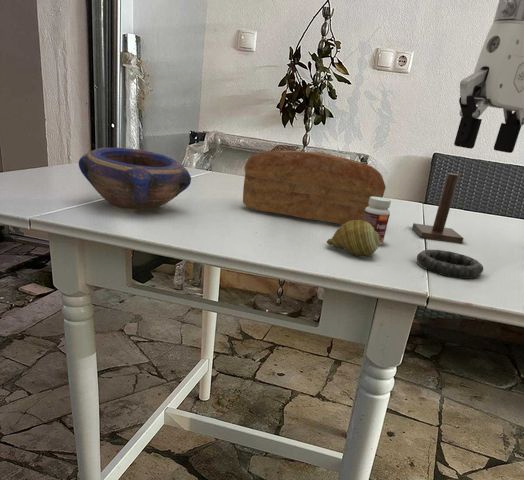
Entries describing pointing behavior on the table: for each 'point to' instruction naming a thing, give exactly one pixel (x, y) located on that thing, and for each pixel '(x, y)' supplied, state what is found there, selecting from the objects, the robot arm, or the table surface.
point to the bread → (310, 185)
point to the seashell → (356, 238)
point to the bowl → (134, 177)
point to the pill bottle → (378, 215)
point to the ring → (461, 269)
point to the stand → (441, 216)
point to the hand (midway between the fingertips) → (483, 149)
